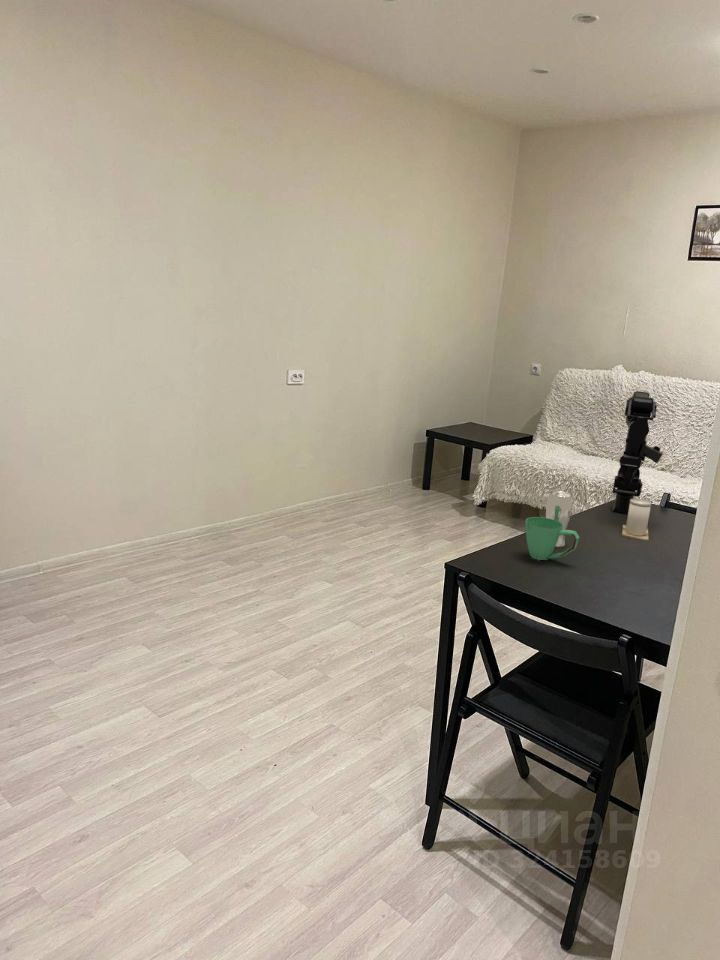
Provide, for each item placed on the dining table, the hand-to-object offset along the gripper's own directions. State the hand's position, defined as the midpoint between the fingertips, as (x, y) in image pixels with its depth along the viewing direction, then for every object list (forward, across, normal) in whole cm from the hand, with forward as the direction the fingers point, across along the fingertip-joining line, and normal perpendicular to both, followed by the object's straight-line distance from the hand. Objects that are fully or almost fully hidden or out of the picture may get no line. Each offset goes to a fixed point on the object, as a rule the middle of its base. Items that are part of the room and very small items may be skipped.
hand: (628, 484), depth 234 cm
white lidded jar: (+13, -11, -5) cm, 18 cm away
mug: (+17, -51, +14) cm, 55 cm away
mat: (+14, -9, -5) cm, 17 cm away
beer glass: (+16, -36, +15) cm, 42 cm away
